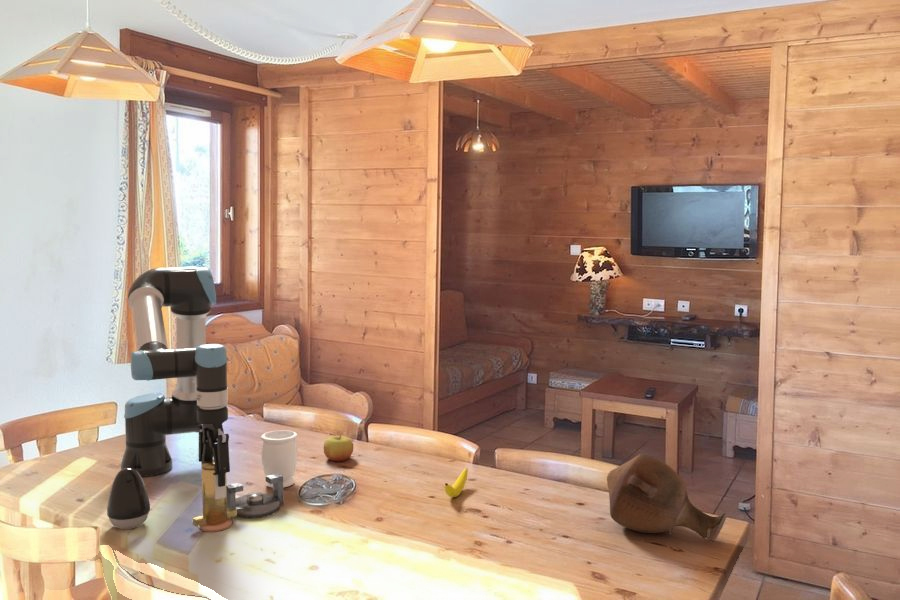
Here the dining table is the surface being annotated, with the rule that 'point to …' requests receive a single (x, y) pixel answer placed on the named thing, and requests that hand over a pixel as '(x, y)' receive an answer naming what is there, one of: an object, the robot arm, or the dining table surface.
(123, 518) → the black and white egg
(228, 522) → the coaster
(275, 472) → the jar
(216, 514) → the amber glass cylinder
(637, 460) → the jug
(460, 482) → the banana
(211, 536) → the dining table surface
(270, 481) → the grey two-tab base
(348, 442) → the apple
